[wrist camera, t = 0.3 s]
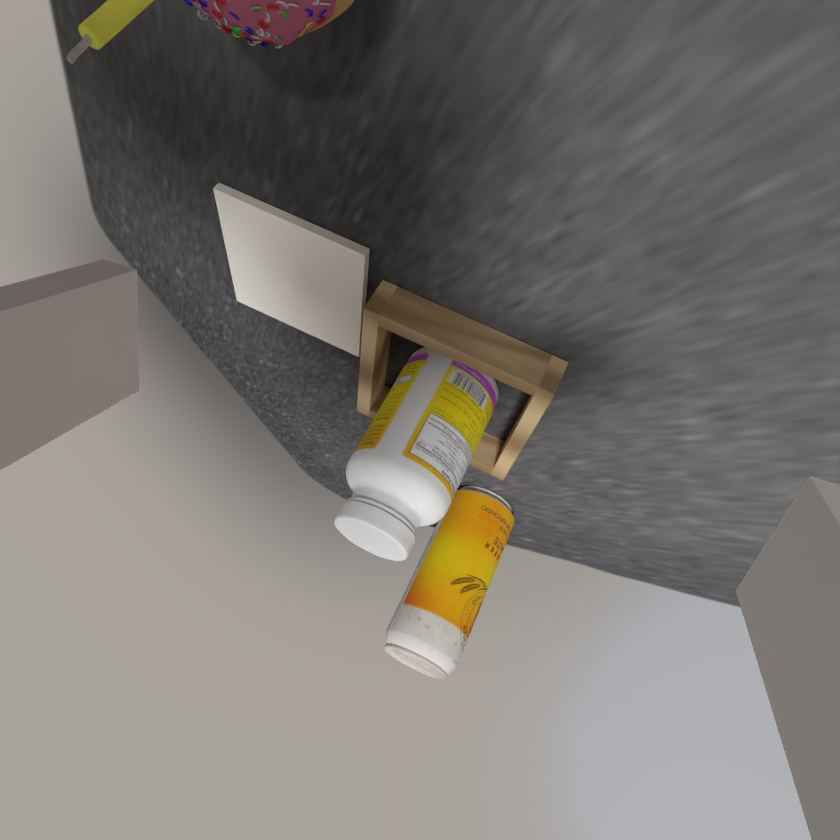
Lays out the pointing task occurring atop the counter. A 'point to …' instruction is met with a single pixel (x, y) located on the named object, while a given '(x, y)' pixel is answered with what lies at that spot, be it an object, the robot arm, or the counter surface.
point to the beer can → (450, 583)
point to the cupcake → (220, 19)
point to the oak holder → (465, 346)
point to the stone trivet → (294, 269)
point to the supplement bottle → (415, 453)
